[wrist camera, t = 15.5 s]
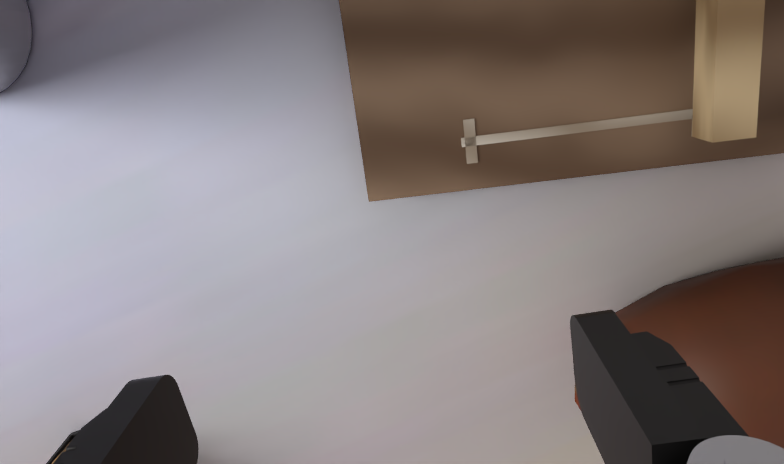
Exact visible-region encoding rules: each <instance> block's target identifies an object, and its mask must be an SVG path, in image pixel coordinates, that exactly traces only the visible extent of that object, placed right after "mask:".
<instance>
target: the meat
mask: <svg viewBox="0 0 784 464" xmlns="http://www.w3.org/2000/svg"><path fill="white" fill-rule="evenodd" d="M615 314H616V315H617V316H618V318H619V319H620V320H621V322H622V323H623V324H624V326H625V327H626V328H627V330H628V331H629V332H630V334H632V333H639V332H646V331H647V332H649V333H651V334H653V335H654V336H656V337H658V338H660V339H662V340H664V341H665V342H667V343H669V344H671V345H672V346H673V347H674V349H675V350H676V351H677V352H678V353H679V354H680V356H681V357H682V358H683V359H684V360H685V361H686V364H687V366H690V367H691V369H692V370H693V371H694V372H695V373H696V374H697V376H698V377H699V380H700V382H703V383H704V384H705V385H706V386H707V387H708V389H709V390H710V391H711V392H712V393H713V394H714V396H715V397H716V398H717V399H718V400H719V402H720V403H721V404H722V405H723V406H724V407H725V409H726V410H727V411H728V412H729V413H730V414H731V416H732V417H733V418H734V419H735V420H736V422H737V423H738V424H739V425H740V426H741V427H742V429H743V430H744V431H745V432H746V433H747V434H748V436H749V437H752V438H757V439H761V440H764V441H767V442H770V443H772V444H775V445H777V446H779V447H781V448H783V449H784V258H778V259H772V260H766V261H761V262H757V263H752V264H747V265H742V266H737V267H733V268H728V269H723V270H718V271H714V272H710V273H707V274H704V275H700V276H697V277H693V278H690V279H686V280H683V281H679V282H676V283H672V284H669V285H666V286H663V287H661V288H659V289H657V290H656V291H654V292H652V293H650V294H648V295H647V296H645V297H643V298H641V299H639V300H637V301H636V302H634V303H632V304H630V305H628V306H627V307H625V308H623V309H621V310H619V311H617V312H616V313H615ZM575 402H576V403H577V405H578V407H579V408H580V405H579V401H578V397H577V392H576V385H575ZM580 410H581V408H580Z"/></svg>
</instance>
